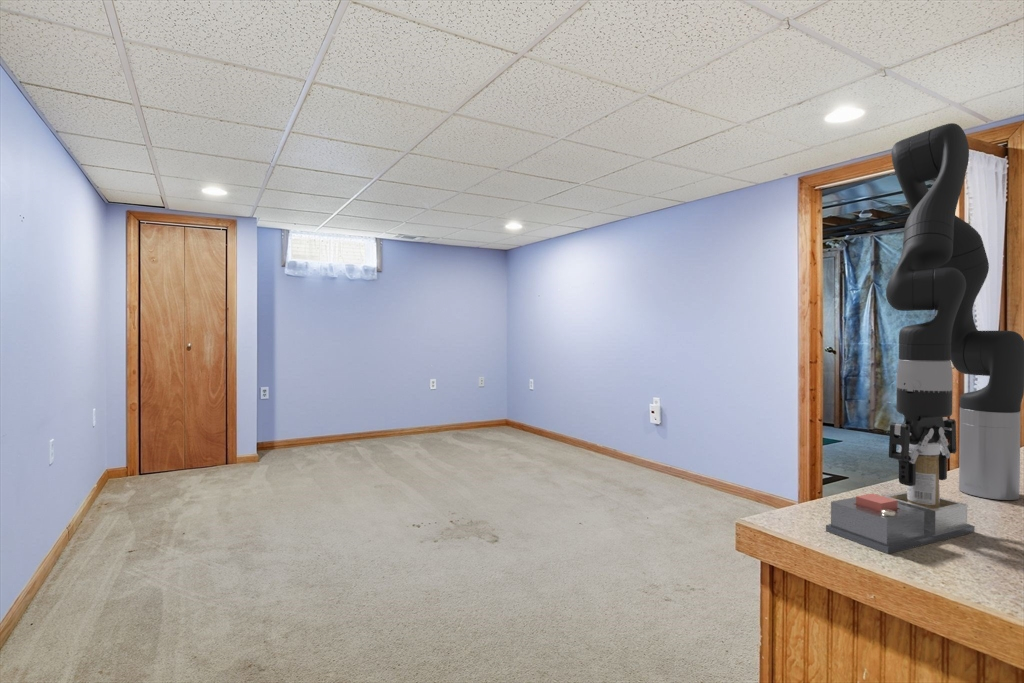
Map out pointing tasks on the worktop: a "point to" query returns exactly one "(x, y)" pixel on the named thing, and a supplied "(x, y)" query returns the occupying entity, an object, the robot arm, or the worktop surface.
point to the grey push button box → (898, 523)
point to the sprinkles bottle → (926, 478)
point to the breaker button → (876, 502)
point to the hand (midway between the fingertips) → (922, 481)
